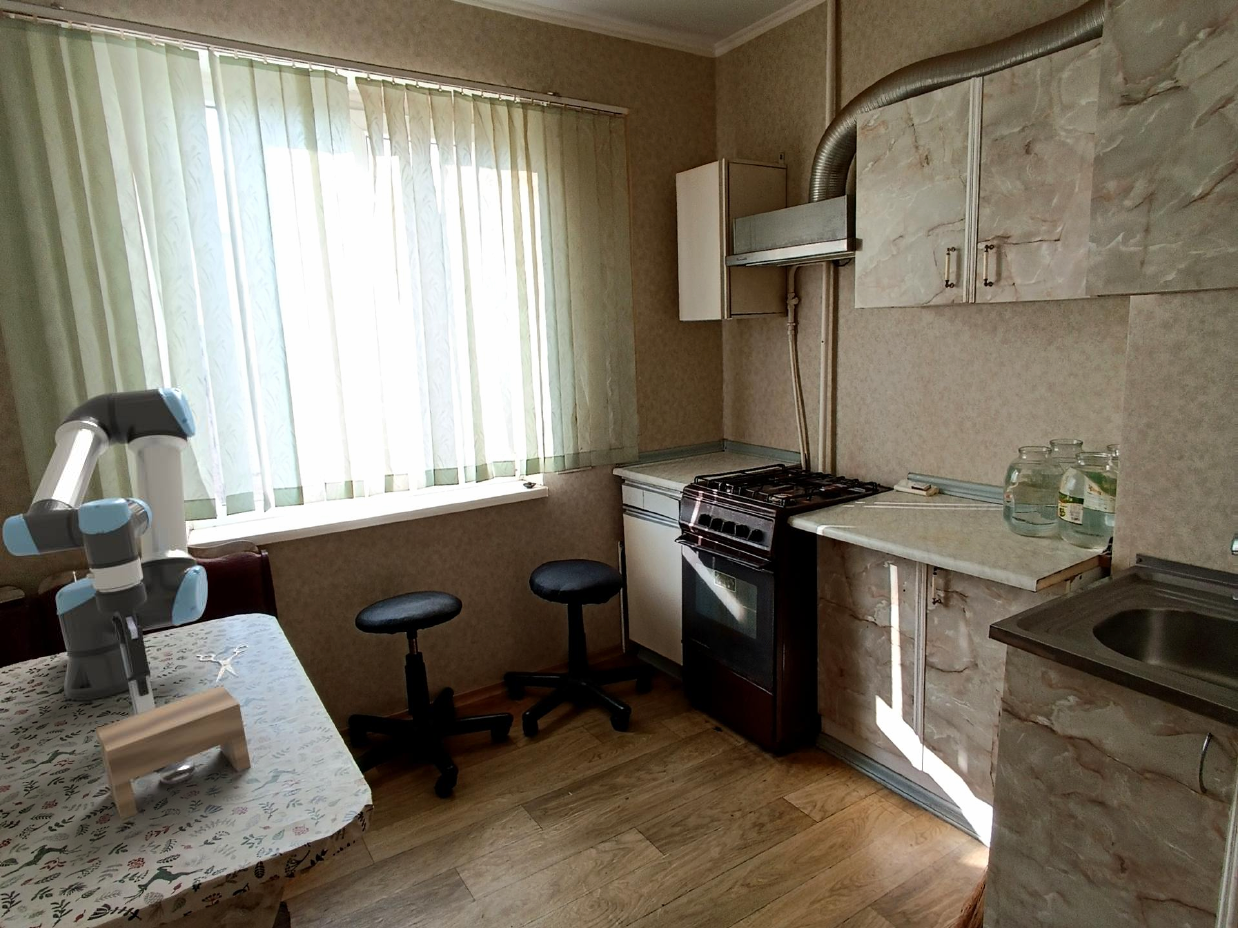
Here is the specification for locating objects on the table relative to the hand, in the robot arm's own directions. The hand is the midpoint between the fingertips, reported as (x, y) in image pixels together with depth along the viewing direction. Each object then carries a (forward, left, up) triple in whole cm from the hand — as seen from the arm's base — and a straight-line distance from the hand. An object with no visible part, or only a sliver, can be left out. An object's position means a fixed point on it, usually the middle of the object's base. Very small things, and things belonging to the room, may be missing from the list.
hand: (144, 706), depth 139 cm
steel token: (+24, 0, -4) cm, 24 cm away
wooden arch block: (+26, 0, -4) cm, 26 cm away
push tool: (+8, 0, -4) cm, 9 cm away
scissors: (-19, +18, -5) cm, 27 cm away
